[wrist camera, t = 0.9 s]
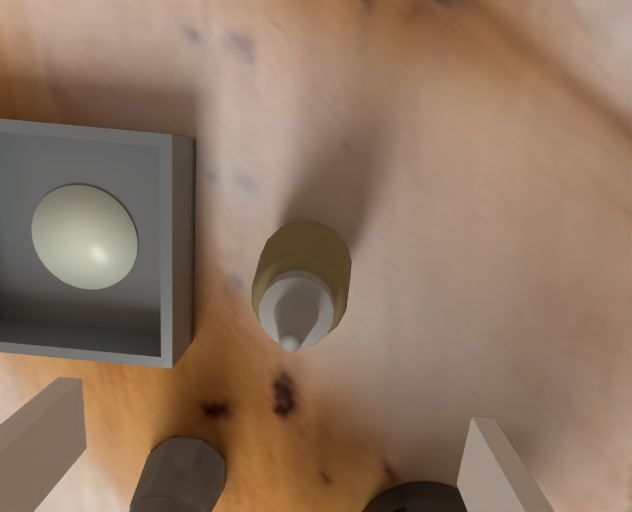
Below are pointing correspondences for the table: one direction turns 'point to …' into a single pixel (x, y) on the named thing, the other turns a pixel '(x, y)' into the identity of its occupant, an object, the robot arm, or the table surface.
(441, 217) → the table surface
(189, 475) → the coffeepot
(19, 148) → the bin
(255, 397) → the table surface
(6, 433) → the robot arm
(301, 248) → the squeeze bottle
